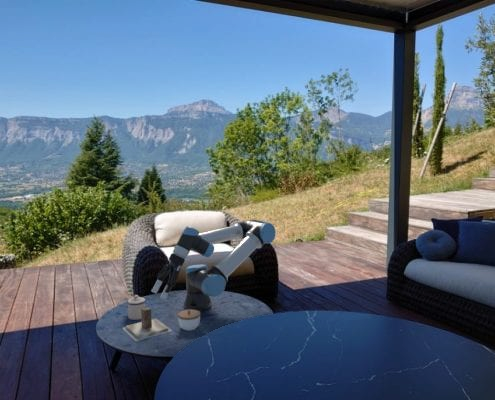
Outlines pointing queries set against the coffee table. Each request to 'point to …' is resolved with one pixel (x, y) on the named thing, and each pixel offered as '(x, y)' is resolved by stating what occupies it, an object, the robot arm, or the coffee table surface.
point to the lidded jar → (189, 319)
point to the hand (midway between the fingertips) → (157, 295)
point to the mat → (144, 337)
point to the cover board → (146, 332)
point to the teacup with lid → (135, 307)
